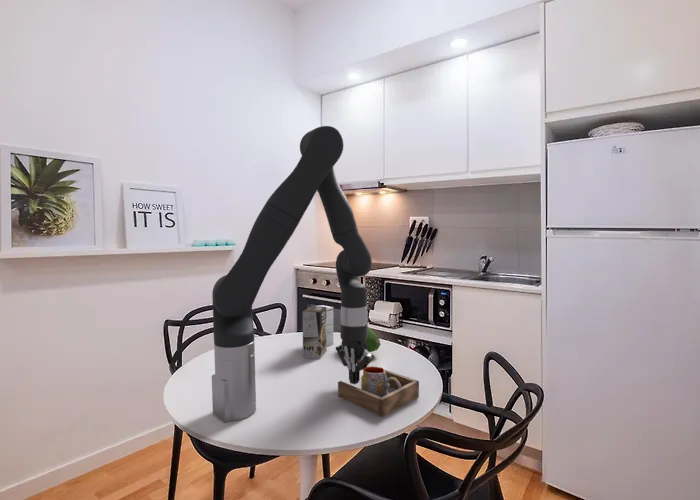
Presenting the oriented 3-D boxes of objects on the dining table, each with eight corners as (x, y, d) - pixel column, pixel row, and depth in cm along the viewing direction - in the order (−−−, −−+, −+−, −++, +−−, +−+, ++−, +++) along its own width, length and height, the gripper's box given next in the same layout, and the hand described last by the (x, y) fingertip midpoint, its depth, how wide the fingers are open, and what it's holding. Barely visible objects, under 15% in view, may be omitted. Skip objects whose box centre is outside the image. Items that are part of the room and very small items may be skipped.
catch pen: (382, 416, 89) (382, 400, 88) (338, 396, 99) (337, 381, 99) (418, 396, 99) (418, 381, 99) (375, 380, 110) (375, 366, 109)
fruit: (387, 355, 131) (386, 326, 130) (366, 362, 124) (365, 332, 124) (357, 345, 142) (357, 318, 142) (337, 350, 136) (336, 323, 135)
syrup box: (312, 345, 143) (311, 307, 142) (323, 341, 147) (322, 304, 146) (323, 348, 139) (322, 309, 138) (334, 344, 144) (333, 306, 143)
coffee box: (320, 359, 127) (319, 311, 126) (302, 358, 129) (301, 311, 128) (327, 350, 136) (327, 306, 135) (310, 349, 138) (309, 305, 137)
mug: (355, 394, 101) (355, 369, 100) (372, 385, 106) (371, 362, 105) (392, 408, 92) (391, 382, 92) (408, 398, 97) (407, 373, 97)
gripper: (327, 320, 106) (328, 380, 107) (362, 328, 97) (362, 394, 98) (346, 315, 112) (346, 373, 113) (381, 323, 102) (381, 385, 103)
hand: (354, 383), depth 105 cm, fingers closed
